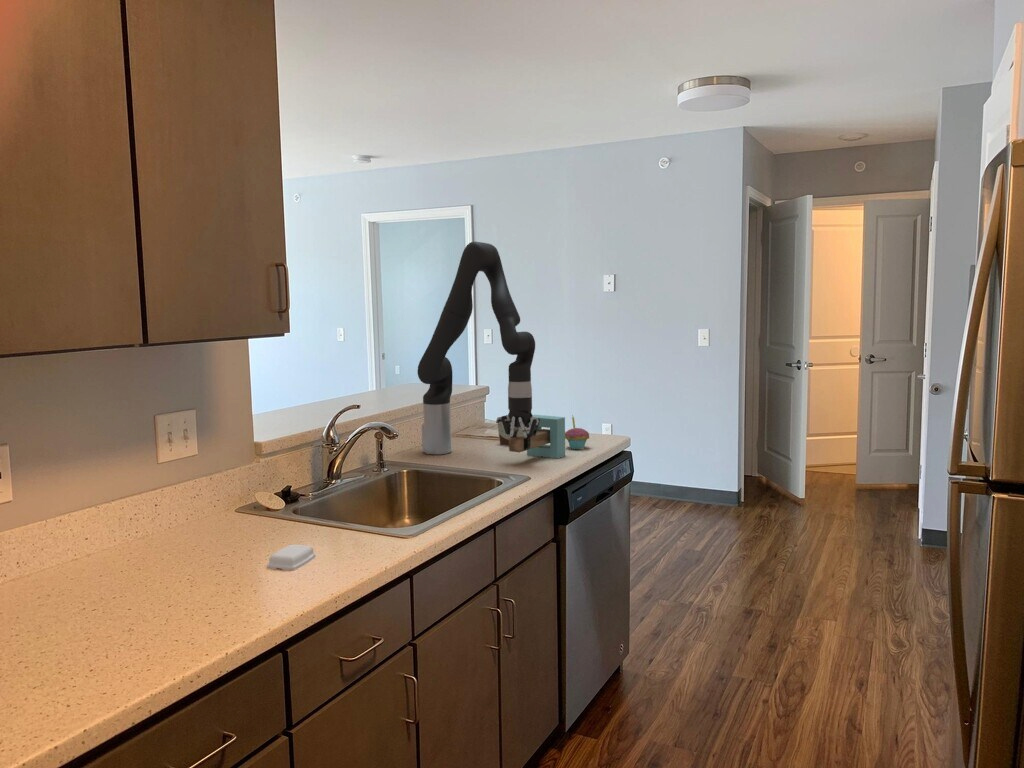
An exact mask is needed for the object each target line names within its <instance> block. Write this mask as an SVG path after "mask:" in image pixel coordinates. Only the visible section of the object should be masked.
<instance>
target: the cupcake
mask: <svg viewBox="0 0 1024 768" xmlns="http://www.w3.org/2000/svg"><path fill="white" fill-rule="evenodd" d="M571 419H572V426H573V427H572V428H570V429H568V430H566V431H565V440H567V442H568V444H569V448H570V449H571V448H572V449H571V450H575V449H579V450H583V448H585V446H586V443H587V440H588V439H590V433H589V431H588V430H586V429H584V428H581V427H576V424H575V417H574V415H573V414H572V417H571Z"/></svg>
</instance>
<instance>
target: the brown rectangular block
mask: <svg viewBox="0 0 1024 768" xmlns="http://www.w3.org/2000/svg"><path fill="white" fill-rule="evenodd" d="M530 443H531V446H530V448H529V449H532V448H535V447H539V446H542V445H549V444H550V428H542V430H538V431H537V433H536V435H535V436H532V437H531V438H530ZM529 449H528V450H529ZM508 451H509V452H511V453H512V452H513V453H521V452H527V450H524V435H520V436H517V437H513V438H509V446H508Z"/></svg>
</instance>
